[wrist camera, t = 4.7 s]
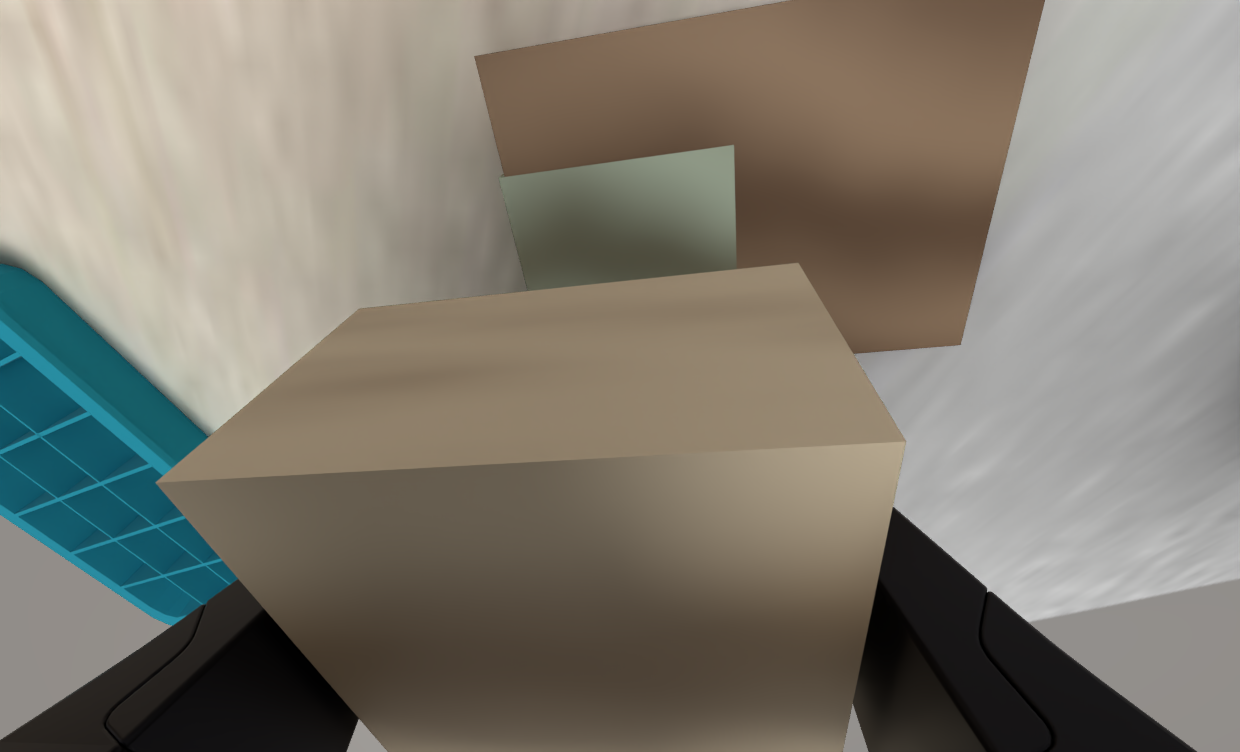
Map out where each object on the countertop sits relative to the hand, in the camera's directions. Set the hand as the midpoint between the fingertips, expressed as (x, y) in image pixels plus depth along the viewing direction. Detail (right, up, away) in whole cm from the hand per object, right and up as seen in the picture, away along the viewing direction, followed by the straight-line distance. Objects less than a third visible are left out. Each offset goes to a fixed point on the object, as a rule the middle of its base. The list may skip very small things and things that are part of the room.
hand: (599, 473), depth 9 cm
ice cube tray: (-25, -2, +17) cm, 30 cm away
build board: (+4, +7, +8) cm, 11 cm away
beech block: (0, 0, 0) cm, 0 cm away
